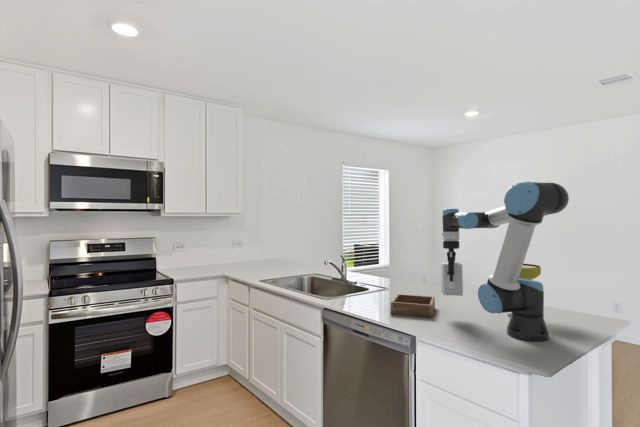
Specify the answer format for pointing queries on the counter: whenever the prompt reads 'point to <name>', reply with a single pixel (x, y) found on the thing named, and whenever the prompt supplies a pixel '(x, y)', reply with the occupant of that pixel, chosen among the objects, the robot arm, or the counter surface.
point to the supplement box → (457, 279)
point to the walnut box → (413, 305)
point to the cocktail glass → (529, 273)
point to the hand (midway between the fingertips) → (451, 286)
